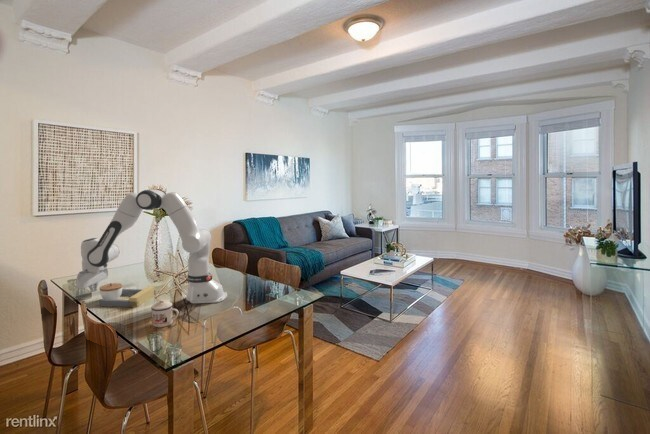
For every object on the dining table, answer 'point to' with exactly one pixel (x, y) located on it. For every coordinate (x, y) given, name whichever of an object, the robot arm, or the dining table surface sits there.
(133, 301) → the grey and yellow tray
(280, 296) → the dining table surface
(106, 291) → the lidded jar
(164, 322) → the teacup with lid
